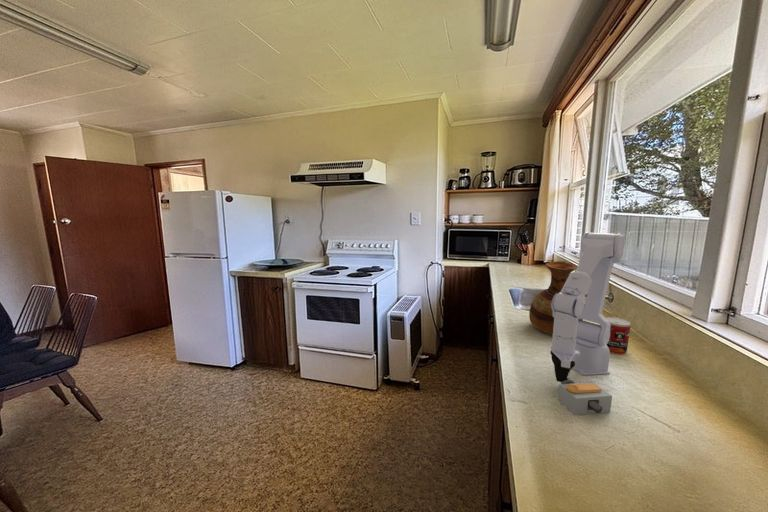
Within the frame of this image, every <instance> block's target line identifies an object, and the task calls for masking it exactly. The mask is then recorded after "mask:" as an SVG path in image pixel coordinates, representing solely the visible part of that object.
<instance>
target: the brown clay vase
mask: <svg viewBox="0 0 768 512" xmlns="http://www.w3.org/2000/svg"><path fill="white" fill-rule="evenodd" d="M545 267H546V268H547V269H548V270H549V272H550V275H551V276H550V284H549V286H548V288H544V290H542V291H540V292H539V293H538V294H537V295H536V296H535V298H534V299H533V300H532V302H531V304H530V308H529V312H528V313H529V314H528V315H529V316H528V317H529V322H530V323H531V325H533V326H534V327H535V328H536V329H537V330H540V331H542V332H543V333H546V334H549V335H553V327H554V317H553V316H552V315H553V311H552V307H551V303H552V300H553V297H554V295H555V294H557V293H560V292H561V290H562V288H563V286H564V284H565V282H566V280H567V279H568V277H569V275H570V273H572V272H574V270H577V267H578V265H576V264H574V263H573V262H567V261H563V260H562V261H558V260H557V261H548V262H547V263H545Z"/></svg>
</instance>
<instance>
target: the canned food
mask: <svg viewBox="0 0 768 512" xmlns="http://www.w3.org/2000/svg"><path fill="white" fill-rule="evenodd" d="M605 318H606V319H607V320H608V321H609V322H610V325H611V327H610V338H609V341H608V343H607V346H608V348H609V351H610V354H611V353H612V354H617V355H624V354H626V353H627V351H628V345H629V340H630V339H629V338H630V332H631V322H630V321H628V320H626V319H622V318H618V317H611V316H610V317H605Z"/></svg>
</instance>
